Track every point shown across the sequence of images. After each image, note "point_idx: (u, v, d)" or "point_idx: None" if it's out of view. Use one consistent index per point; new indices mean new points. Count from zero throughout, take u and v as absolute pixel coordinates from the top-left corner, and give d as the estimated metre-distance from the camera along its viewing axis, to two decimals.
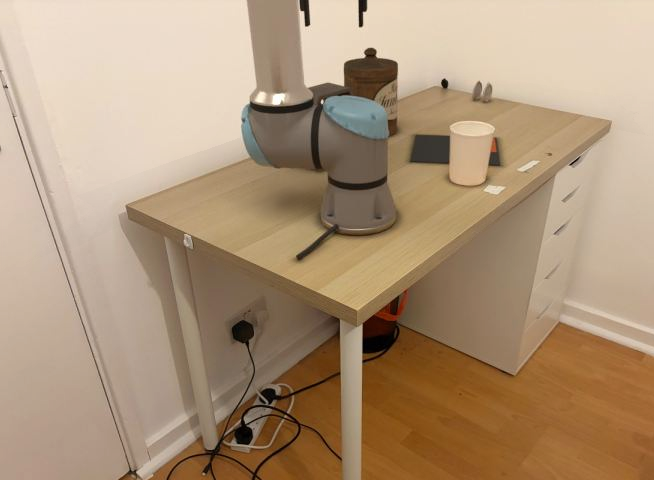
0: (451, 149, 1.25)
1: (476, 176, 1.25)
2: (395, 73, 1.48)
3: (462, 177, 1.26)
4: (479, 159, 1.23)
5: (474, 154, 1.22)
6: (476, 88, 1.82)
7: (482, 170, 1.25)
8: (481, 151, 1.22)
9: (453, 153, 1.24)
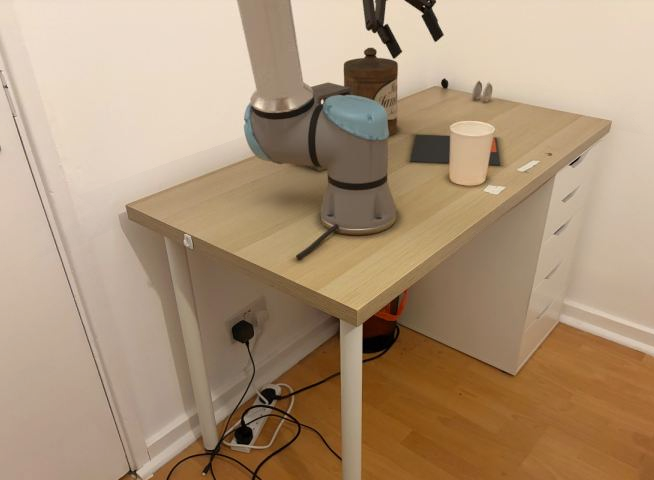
0: (451, 149, 1.25)
1: (476, 176, 1.25)
2: (395, 73, 1.48)
3: (462, 177, 1.26)
4: (479, 159, 1.23)
5: (474, 154, 1.22)
6: (476, 88, 1.82)
7: (482, 170, 1.25)
8: (481, 151, 1.22)
9: (453, 153, 1.24)
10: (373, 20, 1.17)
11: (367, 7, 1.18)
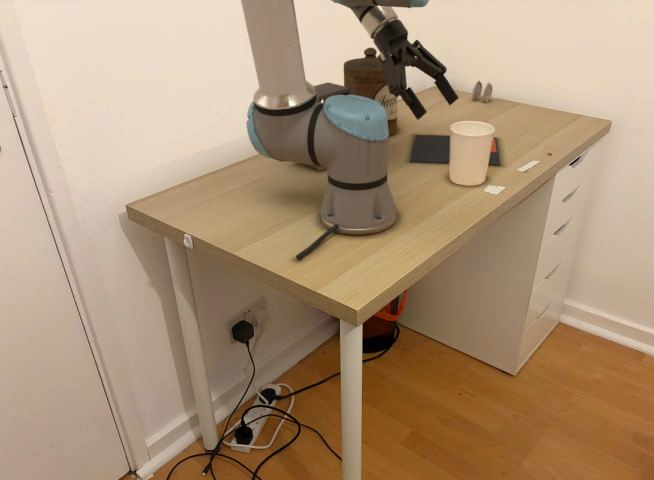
0: (451, 149, 1.25)
1: (476, 176, 1.25)
2: None
3: (462, 177, 1.26)
4: (479, 159, 1.23)
5: (474, 154, 1.22)
6: (476, 88, 1.82)
7: (482, 170, 1.25)
8: (481, 151, 1.22)
9: (453, 153, 1.24)
10: (397, 83, 1.19)
11: (389, 72, 1.20)
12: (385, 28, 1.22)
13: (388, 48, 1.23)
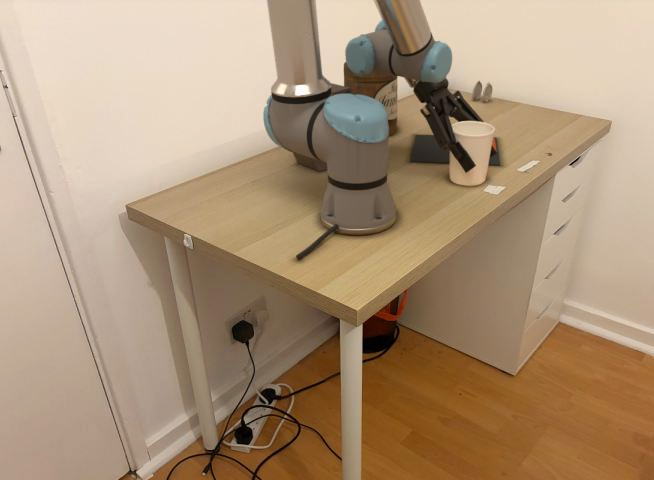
0: None
1: (476, 176, 1.25)
2: None
3: (462, 177, 1.26)
4: (479, 159, 1.23)
5: (474, 154, 1.22)
6: (476, 88, 1.82)
7: (482, 170, 1.25)
8: (481, 151, 1.22)
9: None
10: (447, 138, 1.20)
11: (436, 127, 1.20)
12: None
13: (429, 98, 1.23)
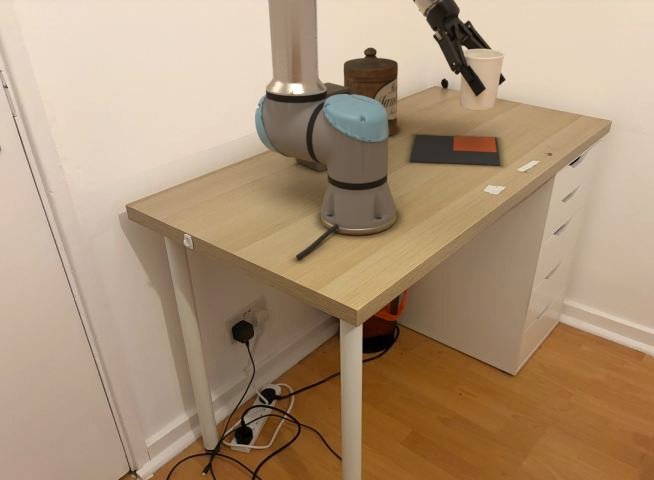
0: None
1: (486, 101, 1.31)
2: (395, 73, 1.48)
3: (472, 102, 1.32)
4: (489, 83, 1.29)
5: (484, 78, 1.28)
6: None
7: (492, 95, 1.31)
8: (491, 75, 1.28)
9: None
10: (459, 61, 1.26)
11: (448, 51, 1.26)
12: (439, 5, 1.28)
13: (441, 25, 1.29)
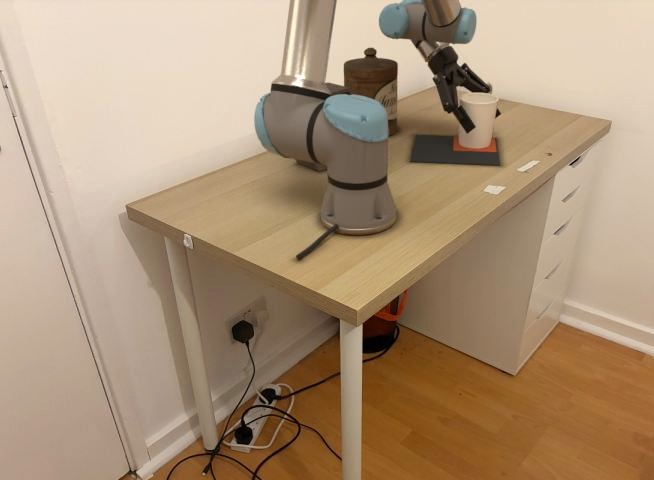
0: None
1: (482, 140, 1.44)
2: (395, 73, 1.48)
3: (470, 141, 1.44)
4: (484, 125, 1.41)
5: (480, 120, 1.40)
6: None
7: (487, 135, 1.44)
8: (487, 117, 1.40)
9: None
10: (451, 102, 1.37)
11: (443, 92, 1.38)
12: (439, 53, 1.40)
13: (441, 71, 1.41)
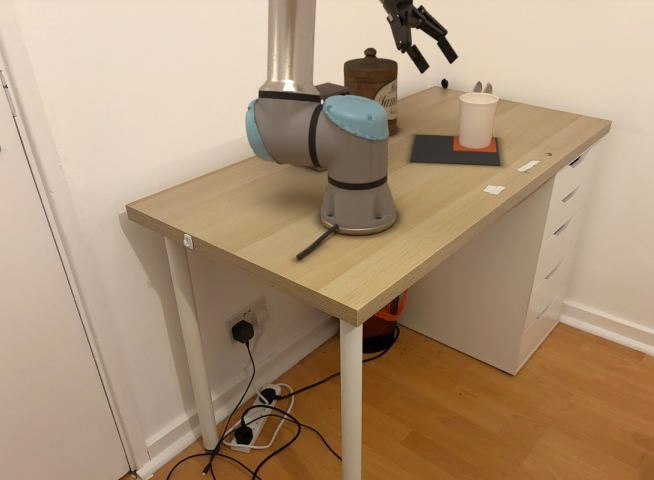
0: (460, 116, 1.43)
1: (482, 140, 1.44)
2: (395, 73, 1.48)
3: (470, 141, 1.44)
4: (484, 125, 1.41)
5: (480, 120, 1.40)
6: (476, 88, 1.82)
7: (487, 135, 1.44)
8: (487, 117, 1.40)
9: (462, 120, 1.43)
10: (404, 40, 1.35)
11: (396, 31, 1.36)
12: None
13: (396, 10, 1.39)
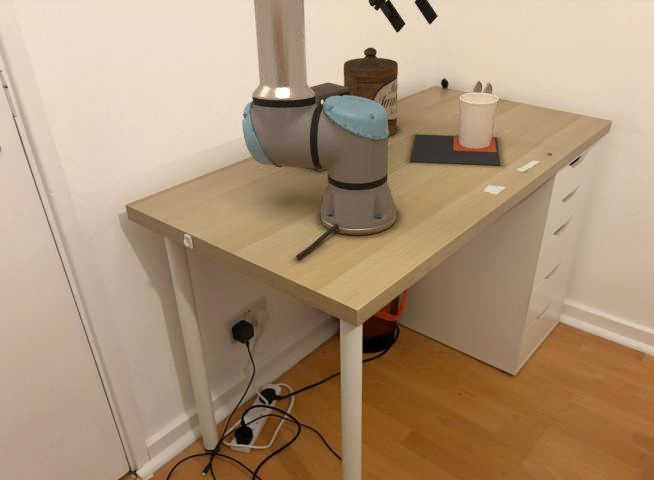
0: (460, 116, 1.43)
1: (482, 140, 1.44)
2: (395, 73, 1.48)
3: (470, 141, 1.44)
4: (485, 125, 1.41)
5: (480, 120, 1.40)
6: (476, 88, 1.82)
7: (487, 135, 1.44)
8: (487, 117, 1.40)
9: (462, 120, 1.43)
10: None
11: None
12: None
13: None
